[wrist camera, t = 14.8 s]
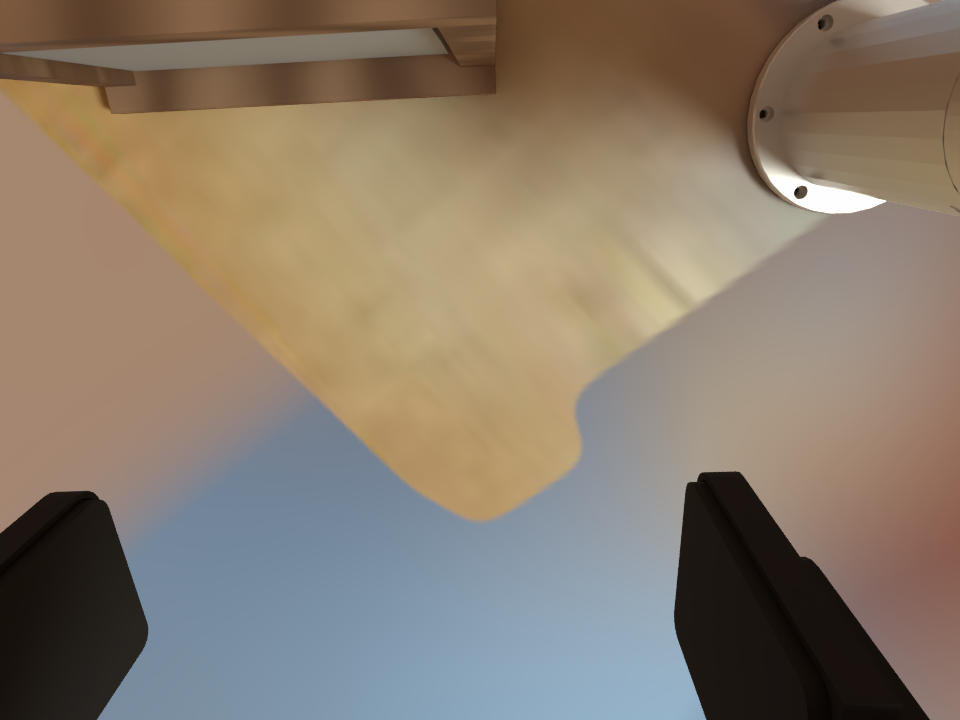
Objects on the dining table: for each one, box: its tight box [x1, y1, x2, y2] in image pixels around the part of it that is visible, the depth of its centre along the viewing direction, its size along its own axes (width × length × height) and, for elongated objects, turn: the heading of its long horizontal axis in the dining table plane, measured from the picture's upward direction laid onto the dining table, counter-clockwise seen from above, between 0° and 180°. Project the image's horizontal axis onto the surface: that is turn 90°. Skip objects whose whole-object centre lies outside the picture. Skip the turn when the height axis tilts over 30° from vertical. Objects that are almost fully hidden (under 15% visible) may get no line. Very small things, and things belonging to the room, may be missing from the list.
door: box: [4, 28, 449, 71], centre depth 28 cm, size 19×3×16 cm, turn 93°
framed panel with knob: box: [0, 0, 497, 114], centre depth 28 cm, size 24×6×20 cm, turn 93°
